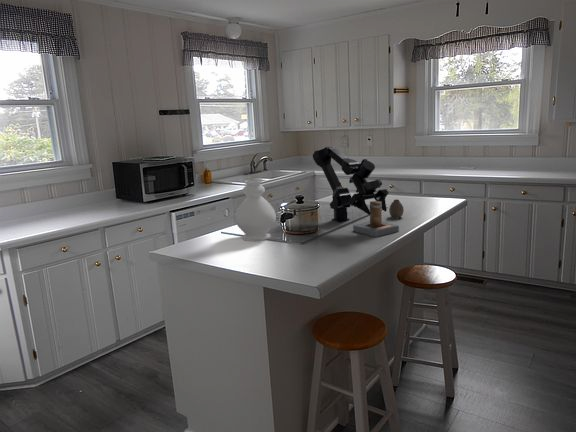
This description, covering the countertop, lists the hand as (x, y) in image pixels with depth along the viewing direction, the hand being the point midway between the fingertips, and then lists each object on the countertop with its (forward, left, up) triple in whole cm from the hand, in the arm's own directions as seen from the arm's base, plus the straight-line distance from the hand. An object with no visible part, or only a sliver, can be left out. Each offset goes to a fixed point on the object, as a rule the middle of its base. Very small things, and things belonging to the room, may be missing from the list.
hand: (377, 212), depth 202 cm
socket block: (-1, 0, -9) cm, 9 cm away
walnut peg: (-1, 0, -9) cm, 9 cm away
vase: (-13, +26, -9) cm, 30 cm away
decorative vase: (-28, -45, -9) cm, 54 cm away
